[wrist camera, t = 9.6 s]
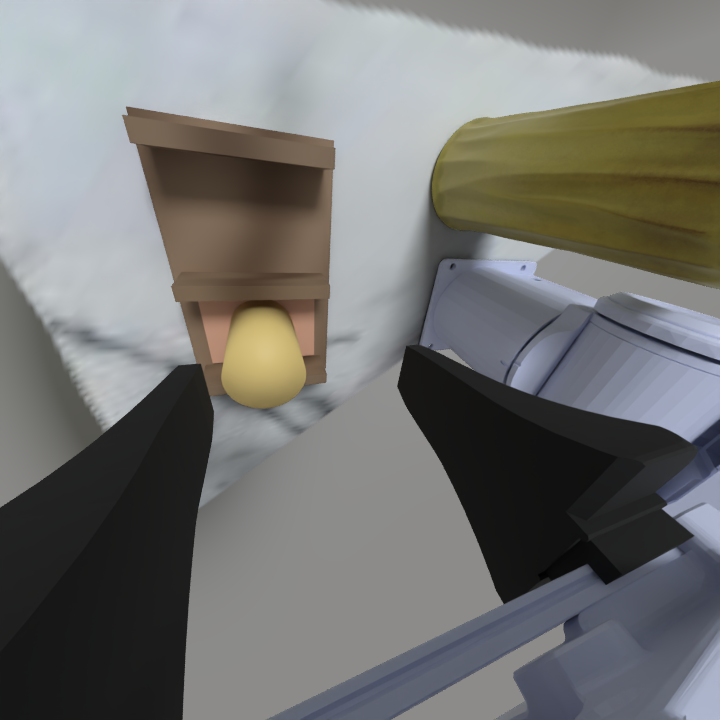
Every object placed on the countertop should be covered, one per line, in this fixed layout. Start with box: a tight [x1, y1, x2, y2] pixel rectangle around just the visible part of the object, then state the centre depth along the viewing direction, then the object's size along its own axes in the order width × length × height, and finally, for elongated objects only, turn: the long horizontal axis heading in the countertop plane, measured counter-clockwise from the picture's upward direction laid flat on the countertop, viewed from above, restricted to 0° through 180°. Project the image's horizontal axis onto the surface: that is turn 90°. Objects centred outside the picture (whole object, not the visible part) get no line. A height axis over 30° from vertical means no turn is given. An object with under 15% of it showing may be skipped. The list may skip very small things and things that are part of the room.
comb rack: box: [122, 107, 335, 396], centre depth 16 cm, size 9×15×3 cm, turn 174°
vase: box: [432, 81, 720, 289], centre depth 12 cm, size 6×6×14 cm
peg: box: [221, 300, 306, 408], centre depth 16 cm, size 4×4×6 cm
